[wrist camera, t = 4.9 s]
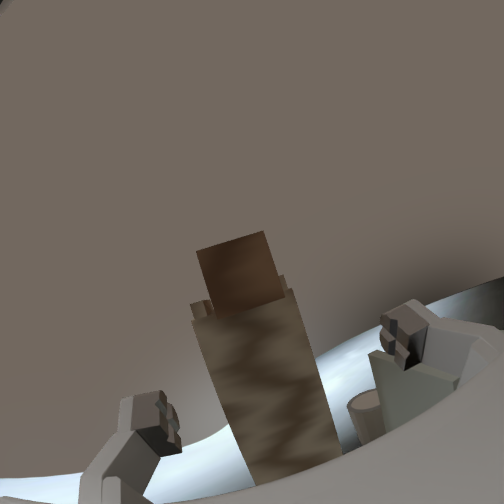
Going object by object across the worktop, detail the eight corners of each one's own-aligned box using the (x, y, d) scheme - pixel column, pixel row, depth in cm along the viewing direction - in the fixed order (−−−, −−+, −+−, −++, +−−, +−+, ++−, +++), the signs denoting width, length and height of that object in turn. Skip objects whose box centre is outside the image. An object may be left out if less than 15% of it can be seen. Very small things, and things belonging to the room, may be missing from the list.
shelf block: (286, 545, 19) (186, 305, 22) (269, 485, 32) (199, 302, 35) (360, 517, 20) (287, 273, 23) (324, 465, 33) (264, 282, 36)
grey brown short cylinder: (349, 451, 35) (338, 413, 35) (365, 425, 40) (356, 390, 41) (394, 449, 30) (386, 409, 31) (405, 421, 36) (398, 383, 37)
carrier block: (452, 535, 12) (452, 381, 14) (395, 484, 23) (367, 354, 25) (506, 489, 12) (514, 330, 14) (442, 453, 24) (424, 324, 26)
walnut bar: (217, 319, 14) (196, 251, 15) (220, 307, 32) (210, 276, 33) (285, 297, 15) (263, 230, 15) (251, 297, 33) (241, 266, 33)
